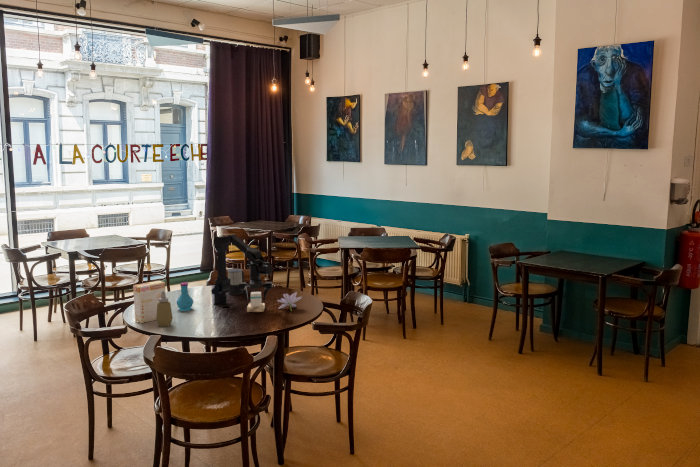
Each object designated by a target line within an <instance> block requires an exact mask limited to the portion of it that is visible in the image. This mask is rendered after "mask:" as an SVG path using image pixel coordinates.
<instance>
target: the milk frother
mask: <svg viewBox="0 0 700 467" xmlns="http://www.w3.org/2000/svg"><path fill="white" fill-rule="evenodd" d="M226 272H227V277H228V279H230V284H231V285H230V288H229V290H228V292H227V294H228V295H231V296H232V295H233V296H237V295H242V294H244V292H243V291H242V290H241V289H238V284H239V283H240V282H245V272H244V270H243V269H242V268H230V269H228V270H227V269H226Z"/></svg>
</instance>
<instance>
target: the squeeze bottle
mask: <svg viewBox="0 0 700 467" xmlns="http://www.w3.org/2000/svg"><path fill="white" fill-rule="evenodd" d="M165 293H166V291H165V292H164V291H162V294H161V298H159V302H158V303H157V317H156V320H155V321H156V323H157V325H158V326H159V327H161V328H163V327H164V328H166V327H170V326H171V325H172V321H173V312H172V306H171V305H172V304H171V302H170V301H169V297H167V296H166V295H165Z"/></svg>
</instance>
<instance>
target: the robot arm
mask: <svg viewBox="0 0 700 467" xmlns="http://www.w3.org/2000/svg"><path fill="white" fill-rule="evenodd" d="M212 243H213V247H214V249H215V251H216V259H217V260H216V262H217V278H216V279H215V282H214V286H213V288H212V289H211V290H210V292H211V295H214V297H213V298H214V303H213V305H214V306H219V305H223V306H224V305H226V304H227V302H228V295H227V293H228V292H229V291H228V290H229V288H230V285H231V284H230V279H228V274H227V251H228V250H227V249H228V248H229V244H232V245H233V246H234V247H235V248H236V249H238V250H239V251H241V252H242V253H243V254H244V256H245V258H246V259H247V260H248V262H246V265H247V266H249V283H247V282H246V281H244V282H240V283H239V284H238V289H241V290H242V291H243V294H244V295H245V296H244V297H245V299H246V301H249V295H248V294H249V293H248V288H249V289H250V290H254V289H255V290H258V289H259V288H264V290H263V301H265V299H266V295H267V294H268V291H270V290H271V289H273V287H274V285H273V282H272V281H265V282H263V280H262V279H261V275H267V276H271V274H272V273H273V270H274V268H273V265H272V264H271V262H269V261H268V262H266V260H265V258H264V256H263V255H262V251H260V249H257V248H255V247H251V246H250V245H248V244H247V243H245V241H243V240H242V239H241V238H239V237H238V235H237V234H235V233H233V234H228V235H220V236H216V237H214V238H213V242H212Z"/></svg>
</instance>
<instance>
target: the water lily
mask: <svg viewBox="0 0 700 467" xmlns="http://www.w3.org/2000/svg"><path fill="white" fill-rule="evenodd" d="M297 294H298V292H297V291H295V292H293V293H292V294H291V295H290V294H288V292H287V293H283V295H282V296H283V297H281V298H280V299H277V300H276V301H277V303H281V305H280V306H279V307H278V310H280V309H284V308H286V307H287V306H289V310H290V312H292V311H293V310H292V308H296V307H297V304H296V303H297V302H298V301H300V300H301V299H302V298H303V296H298V297H297Z"/></svg>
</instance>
